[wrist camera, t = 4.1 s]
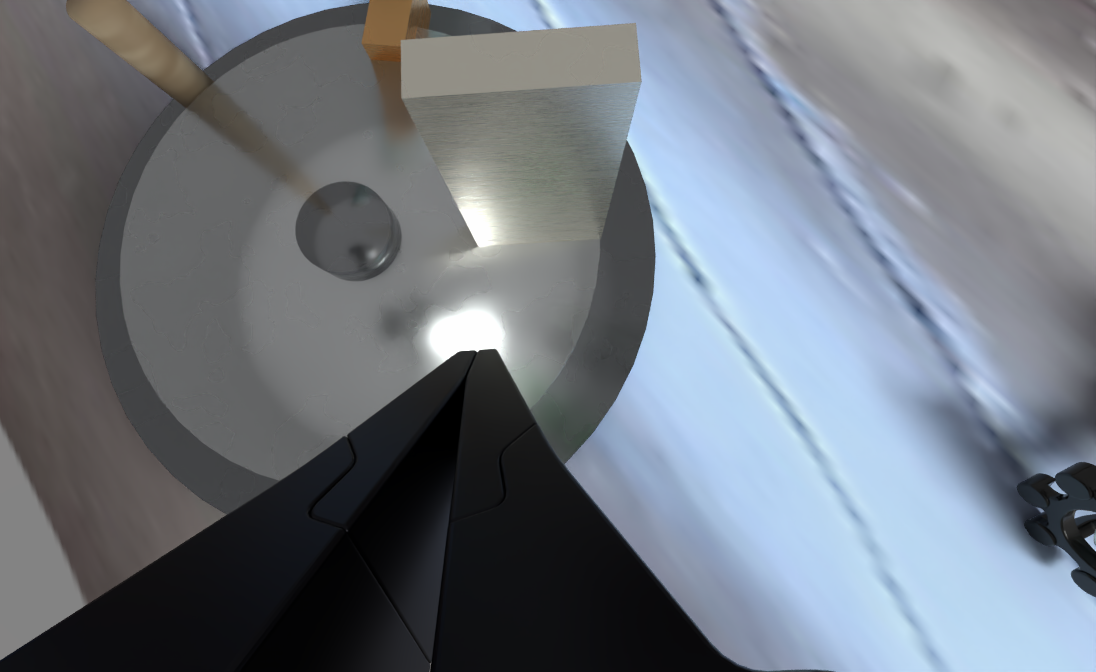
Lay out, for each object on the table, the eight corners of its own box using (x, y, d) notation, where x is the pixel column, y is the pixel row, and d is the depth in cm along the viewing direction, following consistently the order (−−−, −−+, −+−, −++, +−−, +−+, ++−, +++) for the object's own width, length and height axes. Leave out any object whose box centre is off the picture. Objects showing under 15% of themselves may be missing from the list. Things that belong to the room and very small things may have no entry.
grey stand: (128, 497, 20) (-403, 616, 9) (163, 26, 24) (-191, -309, 12) (615, 469, 20) (687, 559, 9) (578, -4, 23) (596, -376, 12)
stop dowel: (211, 125, 24) (93, 32, 18) (181, 107, 24) (55, 9, 18) (233, 95, 24) (125, -7, 18) (204, 78, 24) (87, -29, 18)
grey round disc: (454, 671, 20) (451, 677, 19) (-9, 343, 22) (-20, 342, 22) (754, 164, 22) (757, 159, 22) (315, -72, 25) (311, -80, 25)
